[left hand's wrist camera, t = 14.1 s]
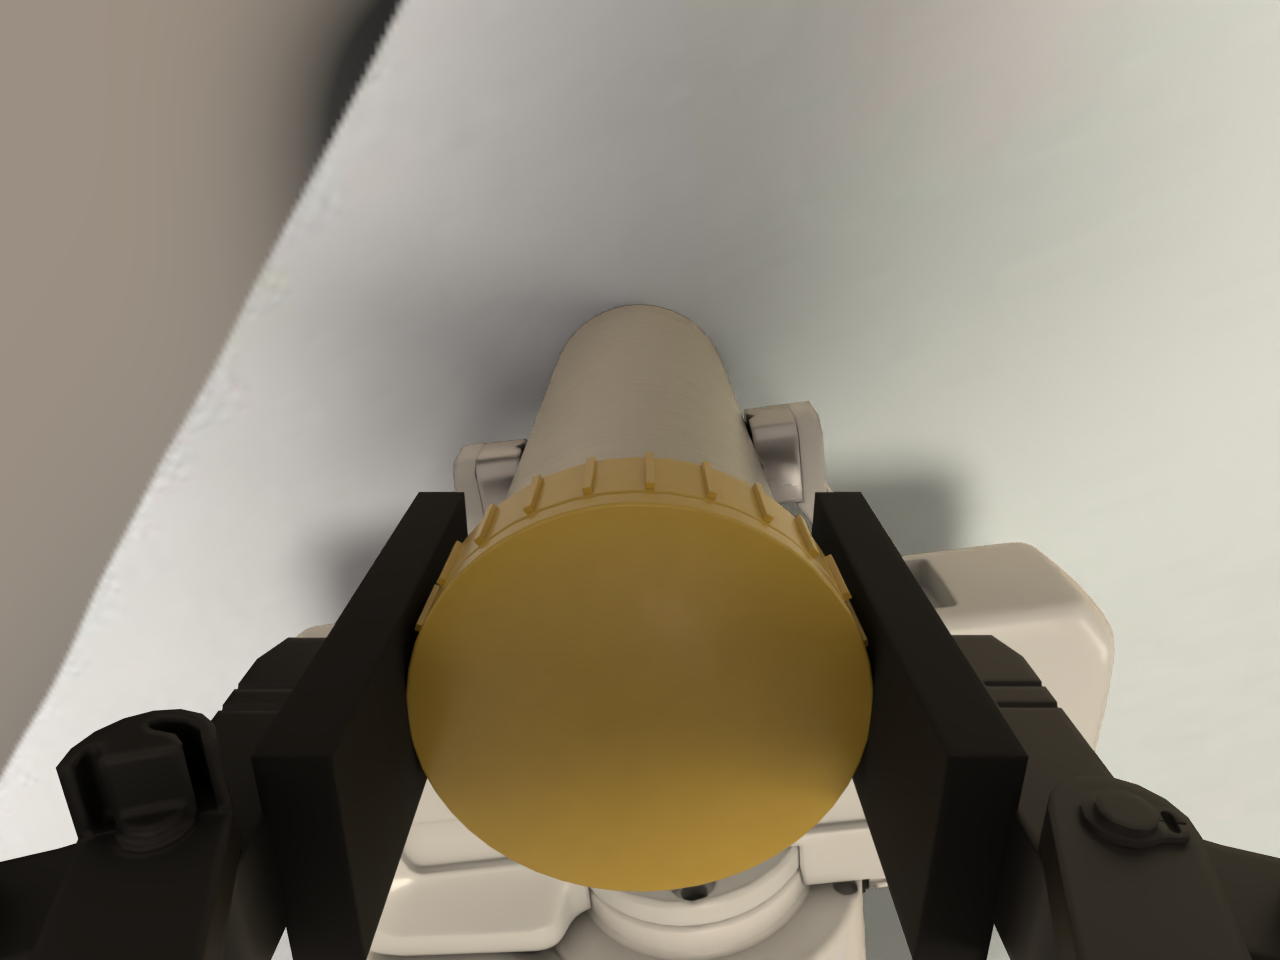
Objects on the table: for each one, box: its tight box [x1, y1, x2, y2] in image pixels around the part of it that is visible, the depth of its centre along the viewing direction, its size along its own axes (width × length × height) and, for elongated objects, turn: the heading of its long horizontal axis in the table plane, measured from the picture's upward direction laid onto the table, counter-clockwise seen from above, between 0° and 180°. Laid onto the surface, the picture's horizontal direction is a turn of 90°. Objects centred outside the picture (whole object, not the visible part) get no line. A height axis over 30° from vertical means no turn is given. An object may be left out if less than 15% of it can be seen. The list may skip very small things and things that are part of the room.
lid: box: [406, 452, 873, 892], centre depth 11 cm, size 6×6×2 cm
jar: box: [505, 305, 774, 500], centre depth 18 cm, size 5×5×15 cm
